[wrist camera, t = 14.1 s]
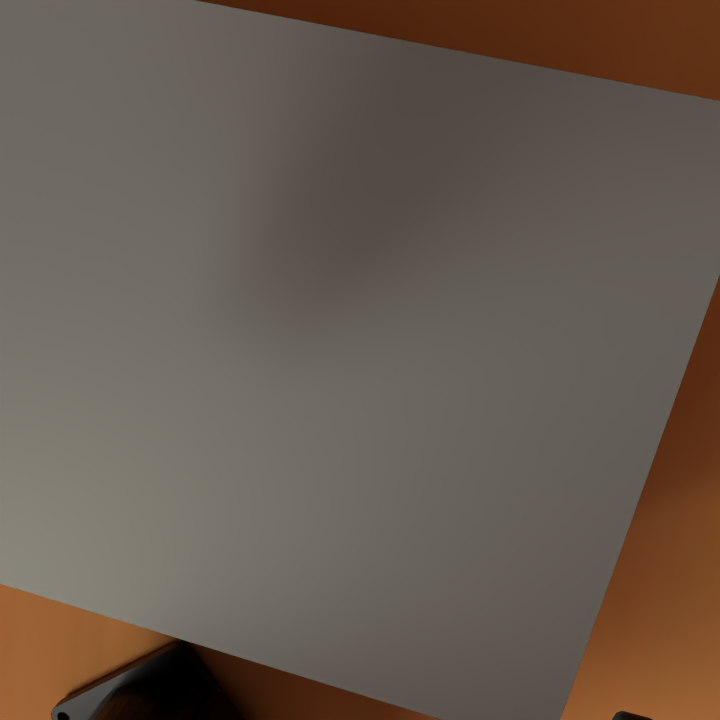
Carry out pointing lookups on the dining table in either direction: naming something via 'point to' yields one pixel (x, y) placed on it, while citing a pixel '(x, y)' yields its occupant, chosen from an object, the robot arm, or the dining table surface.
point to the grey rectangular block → (337, 340)
